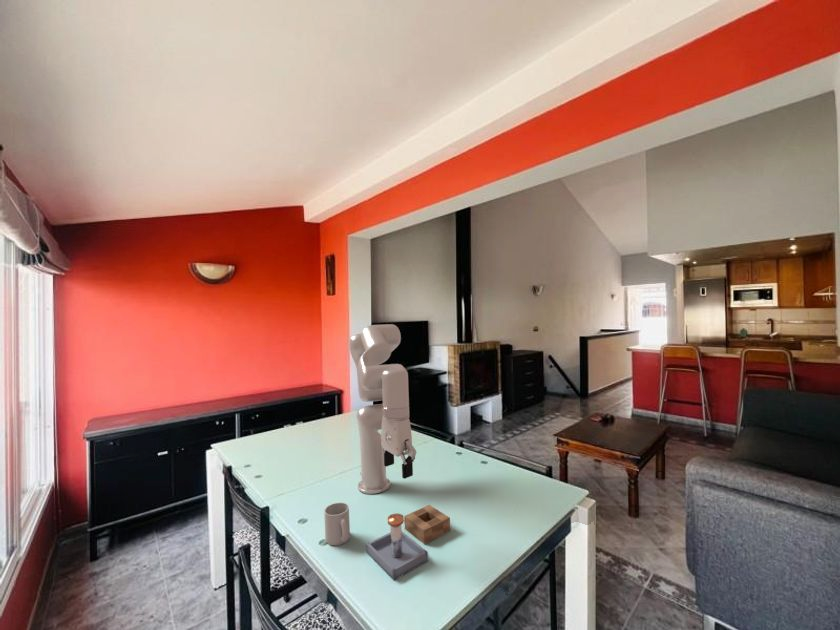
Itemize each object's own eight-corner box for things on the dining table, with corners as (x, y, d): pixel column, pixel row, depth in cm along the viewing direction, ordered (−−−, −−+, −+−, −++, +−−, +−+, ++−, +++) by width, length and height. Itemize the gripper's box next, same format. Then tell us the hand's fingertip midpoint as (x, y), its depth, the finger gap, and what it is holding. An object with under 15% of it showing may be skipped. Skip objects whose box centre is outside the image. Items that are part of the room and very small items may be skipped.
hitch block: (404, 529, 110) (404, 516, 110) (429, 517, 116) (429, 504, 117) (424, 544, 102) (423, 530, 103) (450, 530, 109) (449, 517, 109)
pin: (386, 554, 98) (384, 517, 98) (399, 547, 101) (397, 511, 101) (394, 562, 95) (393, 524, 95) (408, 555, 97) (406, 518, 97)
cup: (344, 528, 112) (342, 500, 112) (358, 544, 104) (357, 513, 104) (321, 537, 108) (320, 508, 108) (334, 554, 100) (333, 522, 100)
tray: (366, 552, 100) (366, 543, 100) (398, 536, 107) (398, 528, 107) (393, 580, 89) (393, 570, 89) (428, 560, 96) (427, 551, 96)
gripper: (370, 408, 107) (372, 464, 107) (401, 421, 93) (403, 486, 93) (391, 403, 112) (393, 457, 112) (424, 415, 98) (426, 477, 98)
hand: (398, 470), depth 103 cm, fingers open, 9 cm apart
